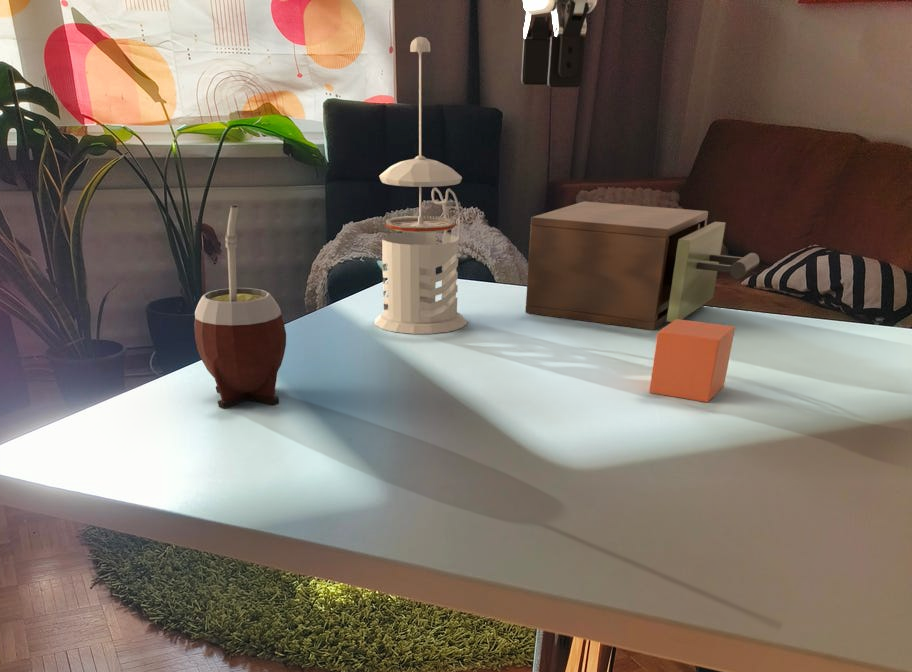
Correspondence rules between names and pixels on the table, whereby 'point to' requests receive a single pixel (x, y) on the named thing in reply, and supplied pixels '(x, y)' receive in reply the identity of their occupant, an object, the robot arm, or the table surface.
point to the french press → (420, 249)
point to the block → (691, 359)
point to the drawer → (697, 268)
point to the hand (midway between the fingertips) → (549, 85)
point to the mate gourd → (240, 336)
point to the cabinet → (603, 262)
